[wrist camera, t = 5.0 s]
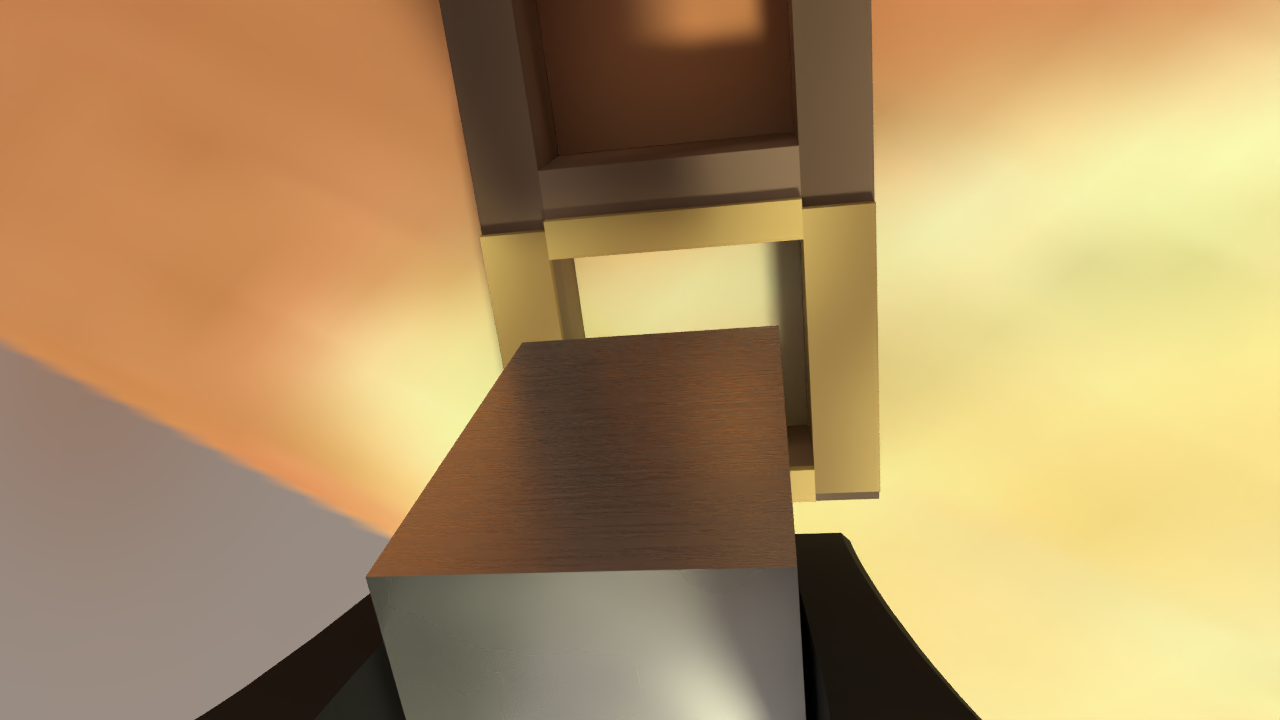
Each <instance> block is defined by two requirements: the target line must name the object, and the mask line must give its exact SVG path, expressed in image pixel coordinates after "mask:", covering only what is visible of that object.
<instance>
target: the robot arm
mask: <svg viewBox="0 0 1280 720" xmlns="http://www.w3.org/2000/svg"><path fill="white" fill-rule="evenodd" d="M795 544H796V557H797V571H798V589H799V606H800V624H801V641H802V659H803V676H804V694H805V711H806V720H982V719H981V718H980V717H979V716H978V715H977V714H976V713H975V712H974V711H973V710H972V709H971V708H970V707H969V705H968V704H967V703H966V702H965V701H964V700H963V699H962V698H961V697H960V696H959V694H958V693H957V692H956V691H955V690H954V689H953V687H952V686H951V685H950V684H949V683H948V682H947V680H946V679H945V678H944V677H943V676H942V675H941V674H940V672H939V671H938V670H937V669H936V668H935V667H934V665H933V664H932V663H931V662H930V660H929V659H928V658H927V657H926V655H925V654H924V653H923V652H922V650H921V649H920V648H919V647H918V645H917V644H916V643H915V641H914V640H913V639H912V637H911V636H910V635H909V633H908V632H907V631H906V629H905V628H904V627H903V625H902V624H901V623H900V621H899V620H898V619H897V617H896V616H895V615H894V613H893V612H892V610H891V609H890V608H889V606H888V605H887V603H886V602H885V600H884V599H883V597H882V596H881V594H880V593H879V591H878V590H877V588H876V587H875V585H874V584H873V582H872V580H871V579H870V577H869V576H868V574H867V572H866V571H865V569H864V567H863V566H862V564H861V562H860V560H859V558H858V557H857V555H856V553H855V551H854V549H853V547H852V544H851V542H850V540H848V539H847V538H846V537H845V536H844V535H843V534H842V533H819V534H795ZM195 720H406V718H405V714H404V711H403V707H402V704H401V700H400V697H399V693H398V690H397V686H396V682H395V679H394V675H393V672H392V668H391V665H390V661H389V658H388V654H387V651H386V647H385V644H384V640H383V636H382V633H381V629H380V626H379V622H378V619H377V615H376V612H375V608H374V605H373V601H372V598H371V594H369V595H367V596H366V597H365V598H363V599H362V600H361V601H360V602H359V603H358V604H356V605H355V606H353V607H352V608H351V609H350V610H348V611H347V612H346V613H344V614H343V615H342V616H341V617H339V618H338V619H337V620H335V621H334V622H333V623H332V624H330V625H329V626H328V627H326V628H325V629H324V630H323V631H322V632H320V633H319V634H317V635H316V636H315V637H314V638H312V639H311V640H309V641H308V642H307V643H305V644H304V645H302V646H301V647H300V648H298V649H297V650H296V651H294V652H293V653H291V654H290V655H289V656H287V657H286V658H285V659H283V660H282V661H280V662H279V663H278V664H277V665H275V666H273V667H272V668H271V669H269V670H268V671H267V672H265V673H264V674H262V675H261V676H260V677H258V678H257V679H256V680H254V681H253V682H252V683H250V684H249V685H247V686H246V687H244V688H243V689H241V690H240V691H239V692H237V693H236V694H234V695H233V696H231V697H229V698H228V699H226V700H225V701H223V702H222V703H221V704H219V705H218V706H216V707H214V708H213V709H211V710H210V711H208V712H206V713H205V714H203V715H202V716H200V717H199V718H197V719H195Z"/></svg>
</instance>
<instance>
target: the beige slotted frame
mask: <svg viewBox="0 0 1280 720" xmlns="http://www.w3.org/2000/svg"><path fill="white" fill-rule="evenodd" d="M439 2H440V8H441V13H442V19H443V24H444V29H445V35H446V40H447V46H448V51H449V57H450V62H451V67H452V73H453V78H454V84H455V89H456V95H457V100H458V106H459V111H460V116H461V122H462V127H463V133H464V138H465V144H466V149H467V154H468V160H469V165H470V171H471V176H472V182H473V187H474V193H475V198H476V203H477V209H478V214H479V220H480V225H481V231H482V236H481V237H480V243H481V248H482V253H483V259H484V264H485V270H486V275H487V280H488V286H489V291H490V297H491V302H492V307H493V313H494V318H495V324H496V329H497V334H498V340H499V345H500V351H501V356H502V361H503V367H504V369H505V367H506V366H507V364H508V363H509V361H510V360H511V358H512V357H513V355H514V354H515V352H516V351H517V349H518V348H519V346H520V345H521V343H523V342H538V341H553V340H568V339H583V338H585V333H584V326H583V319H582V312H581V306H580V299H579V292H578V285H577V278H576V271H575V265H574V258H580V257H592V256H604V255H617V254H629V253H641V252H653V251H666V250H678V249H690V248H703V247H715V246H727V245H740V244H752V243H764V242H777V241H789V240H800V258H801V279H802V299H803V320H804V341H805V361H806V382H807V402H808V423H809V426H790V427H787V439H788V452H789V465H790V478H791V492H792V502H816V501H821V500H849V499H878V498H879V491H880V445H879V381H878V317H877V253H876V203H875V201H874V145H873V83H872V21H871V0H788V10H789V31H790V52H791V72H792V93H793V113H794V132H790V133H780V134H770V135H760V136H750V137H740V138H730V139H720V140H710V141H701V142H691V143H681V144H671V145H661V146H651V147H641V148H631V149H621V150H611V151H601V152H591V153H581V154H571V155H561V156H559V155H558V148H557V142H556V135H555V128H554V121H553V114H552V108H551V101H550V94H549V87H548V80H547V73H546V67H545V60H544V53H543V46H542V39H541V32H540V26H539V19H538V12H537V5H536V0H439Z"/></svg>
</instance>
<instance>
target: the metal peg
mask: <svg viewBox="0 0 1280 720" xmlns="http://www.w3.org/2000/svg"><path fill="white" fill-rule="evenodd" d="M366 580H367V583H368V587H369V590H370V594H371V598H372V601H373V605H374V608H375V612H376V615H377V619H378V622H379V626H380V629H381V633H382V636H383V640H384V644H385V647H386V651H387V654H388V658H389V661H390V665H391V668H392V672H393V675H394V679H395V682H396V686H397V690H398V693H399V697H400V700H401V704H402V707H403V711H404V714H405V718H406V720H806V711H805V694H804V676H803V659H802V641H801V624H800V606H799V589H798V571H797V557H796V544H795V531H794V518H793V505H792V492H791V478H790V465H789V452H788V439H787V426H786V413H785V400H784V387H783V374H782V360H781V347H780V334H779V326H764V327H749V328H734V329H719V330H704V331H689V332H674V333H659V334H643V335H628V336H613V337H598V338H583V339H568V340H553V341H538V342H523V343H521V345H520V346H519V348H518V349H517V351H516V352H515V354H514V355H513V357H512V358H511V360H510V361H509V363H508V364H507V366H506V367H505V369H504V370H503V372H502V373H501V375H500V376H499V378H498V379H497V381H496V382H495V384H494V385H493V387H492V388H491V390H490V391H489V393H488V394H487V396H486V397H485V399H484V400H483V402H482V403H481V405H480V406H479V408H478V409H477V411H476V412H475V414H474V415H473V417H472V418H471V420H470V421H469V423H468V424H467V426H466V427H465V429H464V430H463V432H462V433H461V435H460V436H459V438H458V439H457V441H456V442H455V444H454V445H453V447H452V448H451V450H450V451H449V453H448V454H447V456H446V457H445V459H444V460H443V462H442V463H441V465H440V466H439V468H438V469H437V471H436V472H435V474H434V475H433V477H432V478H431V480H430V481H429V483H428V484H427V486H426V487H425V489H424V490H423V492H422V493H421V495H420V496H419V498H418V499H417V501H416V502H415V504H414V505H413V507H412V508H411V510H410V511H409V513H408V514H407V516H406V517H405V519H404V520H403V522H402V523H401V525H400V526H399V528H398V529H397V531H396V532H395V534H394V535H393V537H392V538H391V540H390V541H389V543H388V544H387V546H386V547H385V549H384V550H383V552H382V553H381V555H380V556H379V558H378V559H377V561H376V562H375V564H374V565H373V567H372V568H371V570H370V571H369V573H368V574H367V576H366Z"/></svg>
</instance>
